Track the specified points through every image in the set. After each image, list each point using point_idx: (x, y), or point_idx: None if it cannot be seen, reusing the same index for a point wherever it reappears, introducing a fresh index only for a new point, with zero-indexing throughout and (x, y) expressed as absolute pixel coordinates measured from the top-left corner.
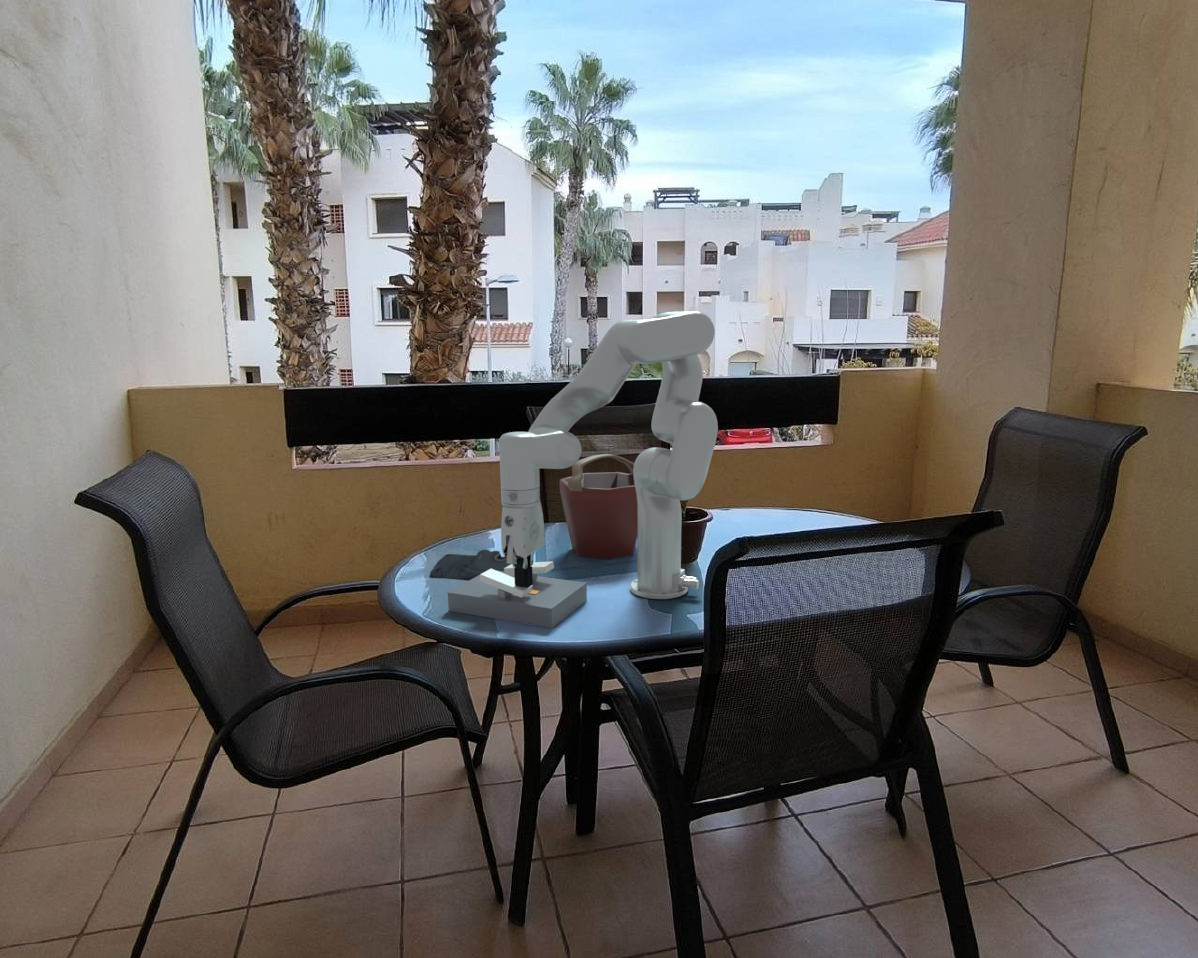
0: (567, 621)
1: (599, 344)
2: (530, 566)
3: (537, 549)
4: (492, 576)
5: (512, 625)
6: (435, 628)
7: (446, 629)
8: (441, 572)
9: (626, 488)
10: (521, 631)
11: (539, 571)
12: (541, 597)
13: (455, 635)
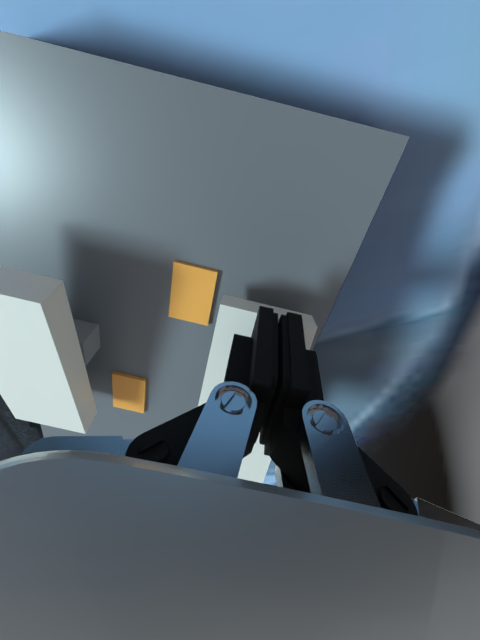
0: (294, 73)
1: None
2: (257, 387)
3: (239, 492)
4: (247, 464)
5: (344, 291)
6: (362, 444)
7: (370, 426)
8: None
9: None
10: (401, 250)
11: (63, 314)
12: (245, 237)
13: (412, 405)
